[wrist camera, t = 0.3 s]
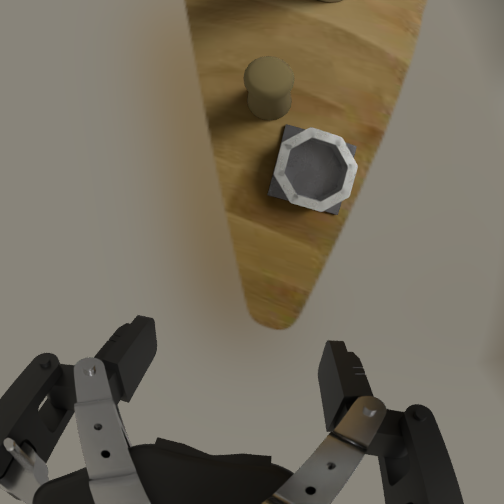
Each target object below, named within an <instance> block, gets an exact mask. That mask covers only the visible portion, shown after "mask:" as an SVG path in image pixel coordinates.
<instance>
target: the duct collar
mask: <svg viewBox="0 0 504 504" xmlns="http://www.w3.org/2000/svg"><path fill="white" fill-rule="evenodd" d="M355 151H356V146H354V145H351V144H348V143H345V142H344V140H343V138H342V137H340V136H337V135H334V134H331V133H328V132H324V131H321V130H318V129H315V128H312V127H311V128H308V129H306V130H305V129H301V128H298V127H294V126H291V125H287V124H286V127H285V130H284V134H283V138H282V142H281V146H280V149H279V153H278V157H277V161H276V165H275V168H274V172H273V176H272V180H271V184H270V187H269V191H268V195H269V196H273V197H277V198H280V199H284V200H288V201H290V203H292V204H296V205H299V206H303V207H306V208H310V209H313V210H317V211H320V212H323V211H326V212H329V213H333V214H336V215H338V212H339V209H340V206H341V202H342V201H343V200H344V199H346V198H348V197H349V196H350V193H351V189H352V186H353V182H354V178H355V175H356V171H357V167H358V166H357V164H356V162H355V160H354V155H355Z"/></svg>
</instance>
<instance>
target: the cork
mask: <svg viewBox="0 0 504 504" xmlns="http://www.w3.org/2000/svg"><path fill="white" fill-rule="evenodd" d="M244 84H245V87H246V88H247V90H248V92H249V93H248V98H247V102H248V107H249V109H250V110H251V112H252V113H253V114H254V115H255V116H257V117H259V118H261V119H264V120H276V119H279V118H281V117H283V116H284V115H285V114H286V113H288V111H289V109H290V107H291V103H292V99H291V94H290V91H291V89H292V87H293V84H294V75H293V71H292V70H291V68H290V66H289V65H288V64H287V63H286V62H285V61H283V60H281V59H279V58H277V57H271V56H266V57H260V58H258V59H255V60H254V61H253V62H251V63H250V64H249V65H248V67H247V69H246V70H245V73H244Z"/></svg>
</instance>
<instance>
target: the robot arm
mask: <svg viewBox="0 0 504 504" xmlns="http://www.w3.org/2000/svg"><path fill="white" fill-rule="evenodd" d="M320 1H325V2H338V1H342V0H320ZM156 351H157V340H156V332H155V322H154V319H153V318H149V317H145V316H140V315H138V316H137V317H136V318H135V319H134V320H133V321H132V323H131V324H129V323H126V324H124V325H123V326H121V327H119V328H118V329H117V330H116V331H115V333H114V334H113V335H112V336H111V337H110V339H109V341H107V342H106V343H105V345H104V346H103V347H102V348H101V349H100V351H99V352H98V353H97V354H96V355H95V357H94V358H91V357H89V358H84V359H81V360H80V361H78V362H77V363H76V364H75V365H65V364H60V362H59V360H58V358H57V357H56V355H54V354H51V353H43V354H40V355H38V356H37V357H35V358H34V359H33V361H32V362H31V363H30V364H29V365H28V366H27V367H26V369H25V370H24V371H23V372H22V373H21V374H20V376H19V377H18V378H17V379H16V380H15V381H14V383H13V384H12V385H11V386H10V387H9V389H8V390H7V391H6V392H5V394H4V395H3V396H2V397H1V399H0V488H1V489H2V490H4V491H6V492H7V493H9V494H10V495H11V496H13V497H14V498H16V499H18V500H22V501H24V502H25V503H27V504H331V503H332V501H333V500H334V499H335V497H336V496H337V495H338V494H339V492H340V491H341V490H342V488H343V487H344V485H345V484H346V483H347V481H348V480H349V478H350V477H351V475H352V474H353V472H354V471H355V469H356V468H357V466H358V465H359V463H360V462H361V460H362V458H363V457H364V455H365V454H368V455H375V456H378V460H379V465H380V471H381V477H382V483H383V490H384V497H385V504H464V503H463V499H462V495H461V492H460V489H459V485H458V481H457V478H456V475H455V472H454V469H453V466H452V463H451V460H450V457H449V454H448V451H447V449H446V446H445V443H444V440H443V438H442V435H441V433H440V430H439V428H438V425H437V423H436V420H435V418H434V415H433V414H432V412H431V410H430V409H428V408H427V407H425V406H423V405H419V404H415V405H411V406H409V407H408V408H407V409H406V411H405V412H400V411H394V410H389V409H386V406H385V404H384V403H383V402H382V401H381V400H380V399H378V398H376V397H374V396H373V394H372V391H371V388H370V385H369V382H368V380H367V377H366V375H365V371H364V369H363V366H362V363H361V361H360V359H359V358H358V357H357V356H356V355H355V354H354V353H353V352H347V349H346V346H345V343H344V342H343V341H327V342H326V345H325V348H324V351H323V355H322V358H321V361H320V364H319V369H318V380H319V386H320V392H321V398H322V404H323V410H324V417H325V423H326V430H327V432H330V433H329V435H328V436H327V437H326V438H325V439H324V441H323V442H322V443H321V444H320V445H319V447H318V448H317V449H316V450H315V451H314V453H313V454H312V455H311V456H310V457H309V458H308V459H307V460H306V461H305V463H304V464H303V465H302V466H301V467H300V468H299V469H298V470H297V471H296V472H295V473H293V472H291V471H290V470H288V469H286V468H284V467H281V466H279V465H276V464H273V463H271V456H262V455H252V454H231V455H209V454H207V453H204V452H202V451H199V450H197V449H194V448H192V447H190V446H187V445H185V444H182V443H177V442H174V441H170V440H166V439H161V438H157V440H156V443H155V444H142V445H136V446H132V445H131V443H130V440H129V438H128V435H127V432H126V430H125V427H124V424H123V421H122V418H121V415H120V412H119V408H118V403H119V401H120V400H122V401H125V402H129V401H130V400H131V398H132V396H133V394H134V392H135V390H136V388H137V387H138V385H139V383H140V382H141V380H142V378H143V376H144V374H145V373H146V371H147V369H148V367H149V366H150V364H151V362H152V360H153V358H154V356H155V354H156ZM46 396H47V400H46V401H45V403H44V404H43V406H42V407H41V408H40V410H39V411H38V408H39V405H40V404H41V402H42V401H43V400H44V398H45V397H46ZM74 412H75V415H76V421H77V427H78V433H79V438H80V442H81V447H82V452H83V456H84V460H85V464H86V467H85V468H83V469H80V470H78V471H75V472H72V473H70V474H67V475H65V476H62V477H59V478H56V479H53V480H50V481H49V478H48V468H47V465H46V463H47V460H48V459H49V457H50V455H51V453H52V451H53V449H54V447H55V445H56V444H57V442H58V440H59V438H60V436H61V435H62V433H63V431H64V429H65V427H66V426H67V424H68V422H69V420H70V419H71V417H72V415H73V414H74ZM332 431H333V432H332Z"/></svg>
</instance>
